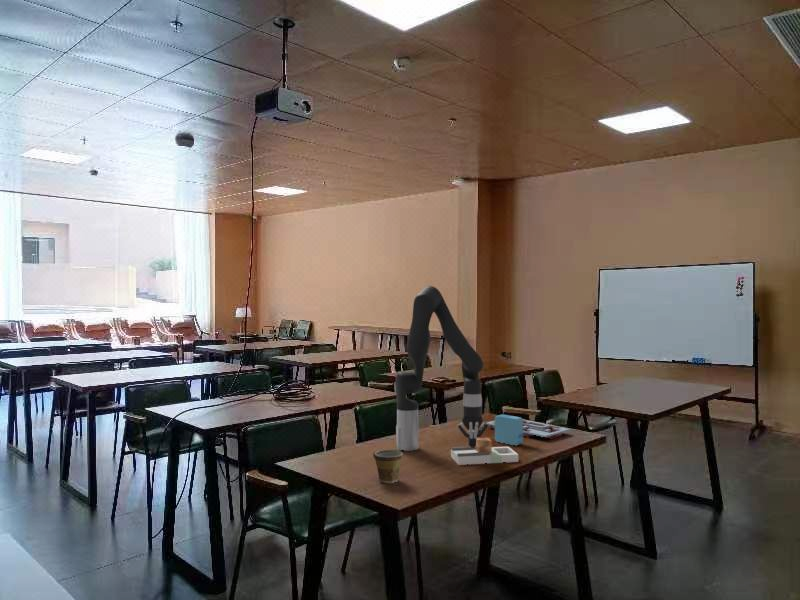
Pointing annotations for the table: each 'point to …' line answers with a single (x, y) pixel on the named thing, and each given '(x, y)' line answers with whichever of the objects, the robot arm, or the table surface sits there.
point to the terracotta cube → (483, 445)
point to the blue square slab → (509, 429)
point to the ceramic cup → (388, 465)
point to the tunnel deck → (483, 455)
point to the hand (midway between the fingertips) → (472, 447)
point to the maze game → (538, 429)
